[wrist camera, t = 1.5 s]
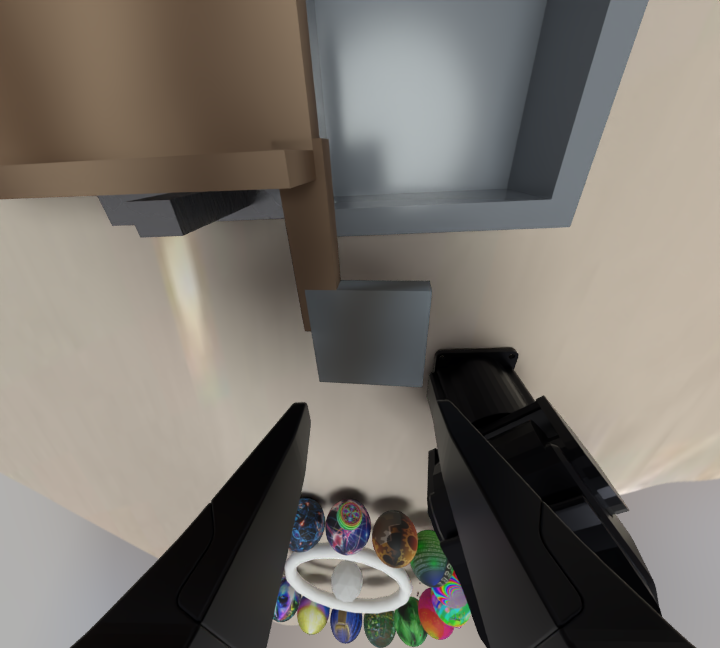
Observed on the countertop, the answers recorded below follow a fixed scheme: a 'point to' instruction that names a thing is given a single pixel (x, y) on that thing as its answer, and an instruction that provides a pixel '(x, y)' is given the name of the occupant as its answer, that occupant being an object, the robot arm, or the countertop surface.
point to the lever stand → (189, 209)
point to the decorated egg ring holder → (392, 552)
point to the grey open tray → (464, 108)
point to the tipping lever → (199, 142)
